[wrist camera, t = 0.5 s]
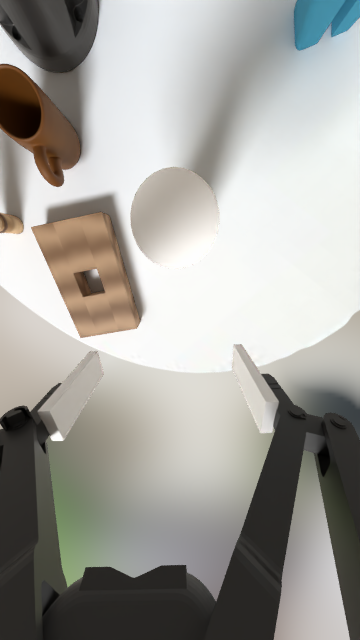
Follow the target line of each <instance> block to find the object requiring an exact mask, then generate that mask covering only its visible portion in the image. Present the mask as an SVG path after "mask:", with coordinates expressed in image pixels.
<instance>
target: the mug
mask: <svg viewBox="0 0 360 640" xmlns="http://www.w3.org/2000/svg"><path fill="white" fill-rule="evenodd" d="M0 128H1V129H2V130H3V131H4V132H5V133H6V134H7V135H8V136H10V137H11V138H12V139H13V140H15V141H16V142H17V143H18V144H20V145H21V146H23V147H24V148H26V149H27V150H29V151H30V152H32V153H33V154H34V159H35V163H36V165H37V167H38V169H39V171H40V173H41V175H42V176H43V177H44V179H45V180H46V181H47V182H48V183H50V184H51V185H53V186H56V187H60V186H62V185H63V183H64V175H63V171H62V169H63V170H66V169H70V168H72V167H73V166H75V165H76V163H77V162H78V160H79V157H80V142H79V138H78V136H77V134H76V131H75V130H74V128H73V126H72V125H71V124H70V122H69V121H68V120H67V119H66V118H65V116H64V115H63V114H62V113H61V112H60V110H59V109H58V108H57V107H56V106H55V105H54V103H53V102H52V101H51V100H50V99H49V98H48V96H47V95H46V94H45V93H44V92H43V91H42V90H41V88H40V87H39V86H38V85H37V84H36V83H35V82H34V81H33V80H32V79H31V78H30V77H29V76H28V75H27V74H26V73H25V72H23V71H22V70H21V69H19V68H17V67H15V66H13V65H9V64H0ZM48 163H49V164H48Z"/></svg>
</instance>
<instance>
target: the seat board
mask: <svg viewBox="0 0 360 640" xmlns="http://www.w3.org/2000/svg"><path fill="white" fill-rule="evenodd" d="M31 229H32V231H33V233H34V235H35V237H36V240H37V242H38V244H39V246H40V249H41V251H42V253H43V255H44V258H45V260H46V262H47V264H48V266H49V269H50V271H51V273H52V275H53V278H54V280H55V282H56V284H57V286H58V289H59V291H60V293H61V295H62V298H63V300H64V302H65V304H66V306H67V309H68V311H69V313H70V315H71V318H72V320H73V322H74V324H75V326H76V329H77V331H78V333H79V335H80V338H83V337H89V336H95V335H101V334H107V333H113V332H119V331H125V330H131V329H137V327H138V326H139V324H140V319H139V315H138V312H137V308H136V305H135V301H134V298H133V294H132V291H131V288H130V284H129V281H128V277H127V274H126V270H125V267H124V264H123V260H122V257H121V253H120V250H119V246H118V243H117V240H116V236H115V233H114V229H113V226H112V222H111V219H110V216H109V215H107V214H105V213H103V212H98V213H94V214H89V215H85V216H80V217H75V218H71V219H66V220H62V221H57V222H53V223H48V224H43V225H39V226H34V227H31ZM92 269H97V270H98V273H99V276H100V279H101V282H102V285H103V287H104V290H105V291H100V292H95V293H91V290H90V288H89V285H88V282H87V280H86V277H85V275H84V272H83V271H87V270H92Z"/></svg>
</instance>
